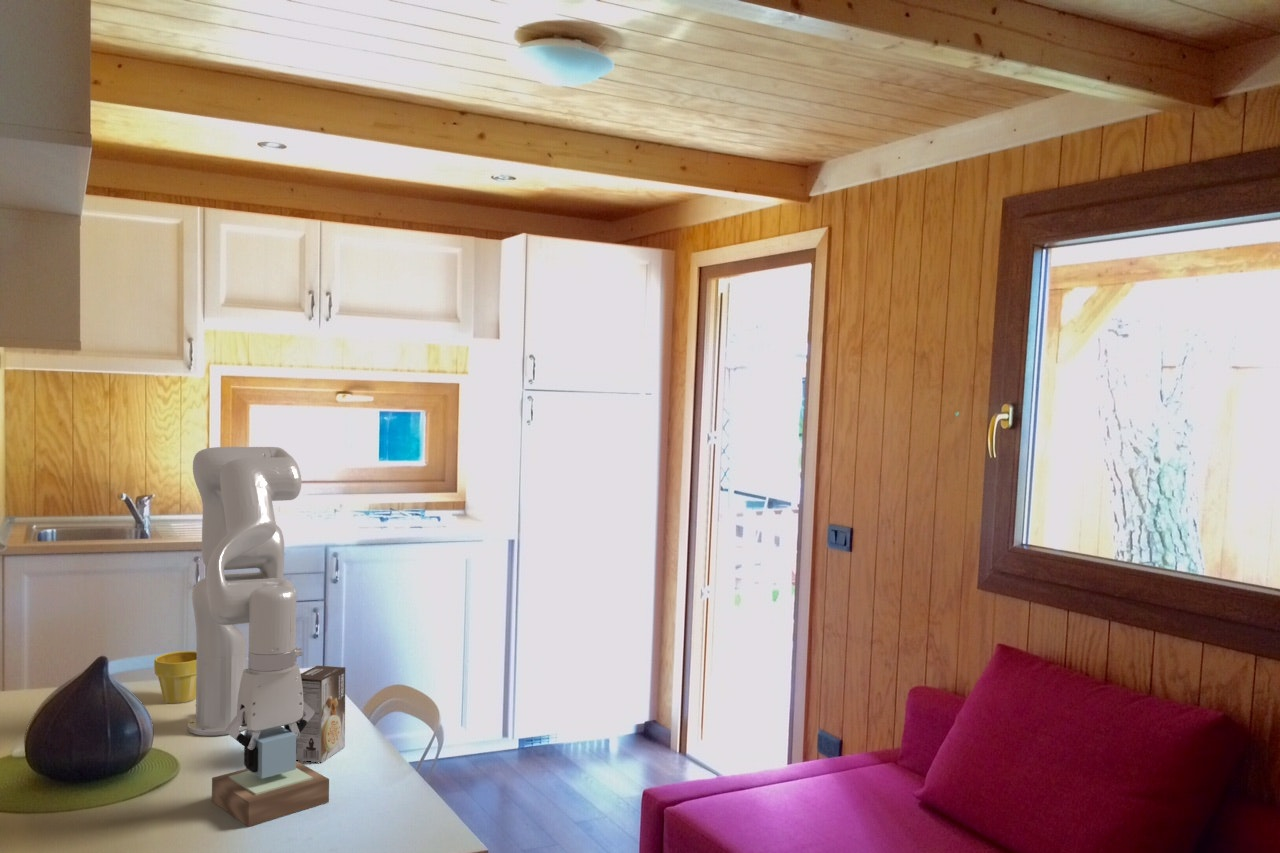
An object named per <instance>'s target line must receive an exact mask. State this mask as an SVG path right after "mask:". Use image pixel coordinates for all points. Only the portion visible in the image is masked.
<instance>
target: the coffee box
mask: <svg viewBox="0 0 1280 853" xmlns="http://www.w3.org/2000/svg"><path fill="white" fill-rule="evenodd" d="M300 674H301V680H302V687H303V701H304V702H305V703H306V704H307V705H308V706H310V707H311V708H312V709H313V710H314V711H315V714H314V715H313V716H312V718H311V719H310V720H309V721H308V722H307V725H306V726H305V727H304V729H303V730H302V731H301V732H300V736H299V738H297V754H296V760H298V762H306V761H311V762H310V763H315V762H322V763H323V761H324V762H325V761H326V760H328V759H329V758H331V757H332V756H333V755H335V754H336V753H338V752H340V751H341V750H342V749H344V748H345V747H346V667H345V666H342V667H341V666H332V665H331V666H330V665H329V666H328V665H316V666H313V667H312V668H309V669H307V670H306V671H303V672H300Z"/></svg>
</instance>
